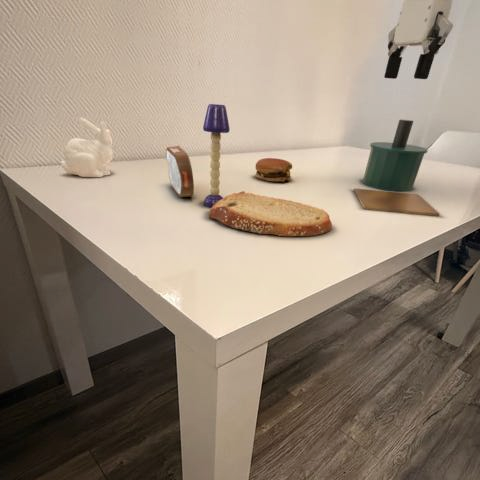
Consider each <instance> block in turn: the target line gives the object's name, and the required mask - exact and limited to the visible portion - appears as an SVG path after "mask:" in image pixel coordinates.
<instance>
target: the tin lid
mask: <svg viewBox="0 0 480 480" xmlns="http://www.w3.org/2000/svg"><path fill="white" fill-rule="evenodd" d="M413 125H414V120H412V119H411V120H410V119H399V120H398V123H397V126H396V130H395V134H394V137H393V140H392V142H388V141H376V142H371V143H370V145H369V147H370V148H371V147H372V148H374V149H378V150H382V151H388V152H395V153H404V154H424V155H425V154H427V153H428V151H429V150H428V149H427V148H425V147H423V146H419V145H418V146H417V145H414V144H408V140H409V137H410V134H411V131H412V128H413Z"/></svg>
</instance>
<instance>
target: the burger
mask: <svg viewBox="0 0 480 480" xmlns="http://www.w3.org/2000/svg"><path fill="white" fill-rule="evenodd" d="M292 169H293V164H292V162H290V161H288V160H285V159H281V158H275V157H274V158H272V157H267V158H261V159H259V160H257V162H256V163H255V170H256V173H255V177H256V179H258V180H262V181H266V182H283V183H284V182H285V181H287V182H290V181H291V180H292V178H291V170H292Z"/></svg>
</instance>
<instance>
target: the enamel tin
mask: <svg viewBox="0 0 480 480" xmlns="http://www.w3.org/2000/svg"><path fill="white" fill-rule="evenodd" d="M424 157H425V154H404V153H395V152H388V151H382V150H378V149H374V148H372V147H370V152H369V155H368V160H367V163H366V167H365V172H364V174H363V179H362V183H363V184H364V185H366V186H368V187H371V188H374V189H377V190H382V191H389V192H408V191H411V190H413V188H414V185H415V182H416V180H417V177H418V175H419V172H420V168H421V165H422V162H423V159H424Z"/></svg>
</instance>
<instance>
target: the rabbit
mask: <svg viewBox="0 0 480 480" xmlns="http://www.w3.org/2000/svg"><path fill="white" fill-rule="evenodd" d="M99 124H100V125H99V126H100V128H99V127H97V126H96V125H95V124H94V123H93V122H91V121H89V120H87V119H85V118H84V117H82V116H81V117H79V119H78V127H80V128H81V129H83V130H86V131H89V132H91V133H92V134H94V135H95V136H94V138H93V139H90V140H88V139H84V138H82V137H81V138H80V137H74V138H71V139H70V140H68V141H67V143H66V144H65V147H64V150H63V155H64V160H61V161H60V166H61V168H62V169H63V170H64V171H65V172H67V173H68V174H71V175H75V176H79V177H81V178H102V177H103V176H110V175H111V172H110V170H109V169H108V168H106V167H105V166H107V165H109V164H110V163H111V162H112V160H113V156H114V152H113V148H112V146H113V143H114V141H113V138H112V136H111V134H112V133H111V130H109V129H107V128H108V126H107V125H108V124H107V122H106V121H100V123H99Z"/></svg>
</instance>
